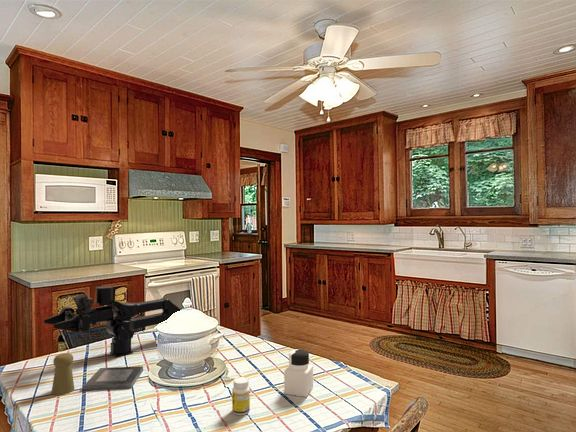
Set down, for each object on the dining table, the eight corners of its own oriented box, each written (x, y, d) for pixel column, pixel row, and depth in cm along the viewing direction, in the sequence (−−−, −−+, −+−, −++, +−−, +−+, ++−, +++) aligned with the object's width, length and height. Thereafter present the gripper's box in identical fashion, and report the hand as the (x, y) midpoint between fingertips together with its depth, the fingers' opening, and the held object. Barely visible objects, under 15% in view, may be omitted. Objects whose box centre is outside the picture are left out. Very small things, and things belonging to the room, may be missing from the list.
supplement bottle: (232, 407, 104) (232, 376, 104) (249, 406, 105) (250, 376, 105) (231, 416, 99) (231, 384, 100) (249, 415, 100) (249, 383, 100)
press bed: (100, 372, 128) (100, 367, 128) (143, 370, 130) (143, 365, 130) (83, 390, 114) (83, 385, 114) (131, 388, 116) (131, 382, 116)
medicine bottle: (313, 387, 117) (313, 348, 117) (306, 397, 110) (306, 356, 110) (291, 384, 119) (291, 346, 119) (283, 394, 112) (284, 353, 113)
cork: (78, 387, 117) (79, 351, 117) (65, 395, 111) (66, 358, 111) (60, 386, 117) (61, 350, 118) (46, 394, 111) (47, 357, 112)
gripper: (86, 290, 146) (39, 296, 134) (107, 296, 134) (58, 304, 122) (85, 319, 146) (39, 328, 134) (107, 328, 134) (58, 338, 122)
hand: (48, 323), depth 128 cm, fingers open, 9 cm apart
